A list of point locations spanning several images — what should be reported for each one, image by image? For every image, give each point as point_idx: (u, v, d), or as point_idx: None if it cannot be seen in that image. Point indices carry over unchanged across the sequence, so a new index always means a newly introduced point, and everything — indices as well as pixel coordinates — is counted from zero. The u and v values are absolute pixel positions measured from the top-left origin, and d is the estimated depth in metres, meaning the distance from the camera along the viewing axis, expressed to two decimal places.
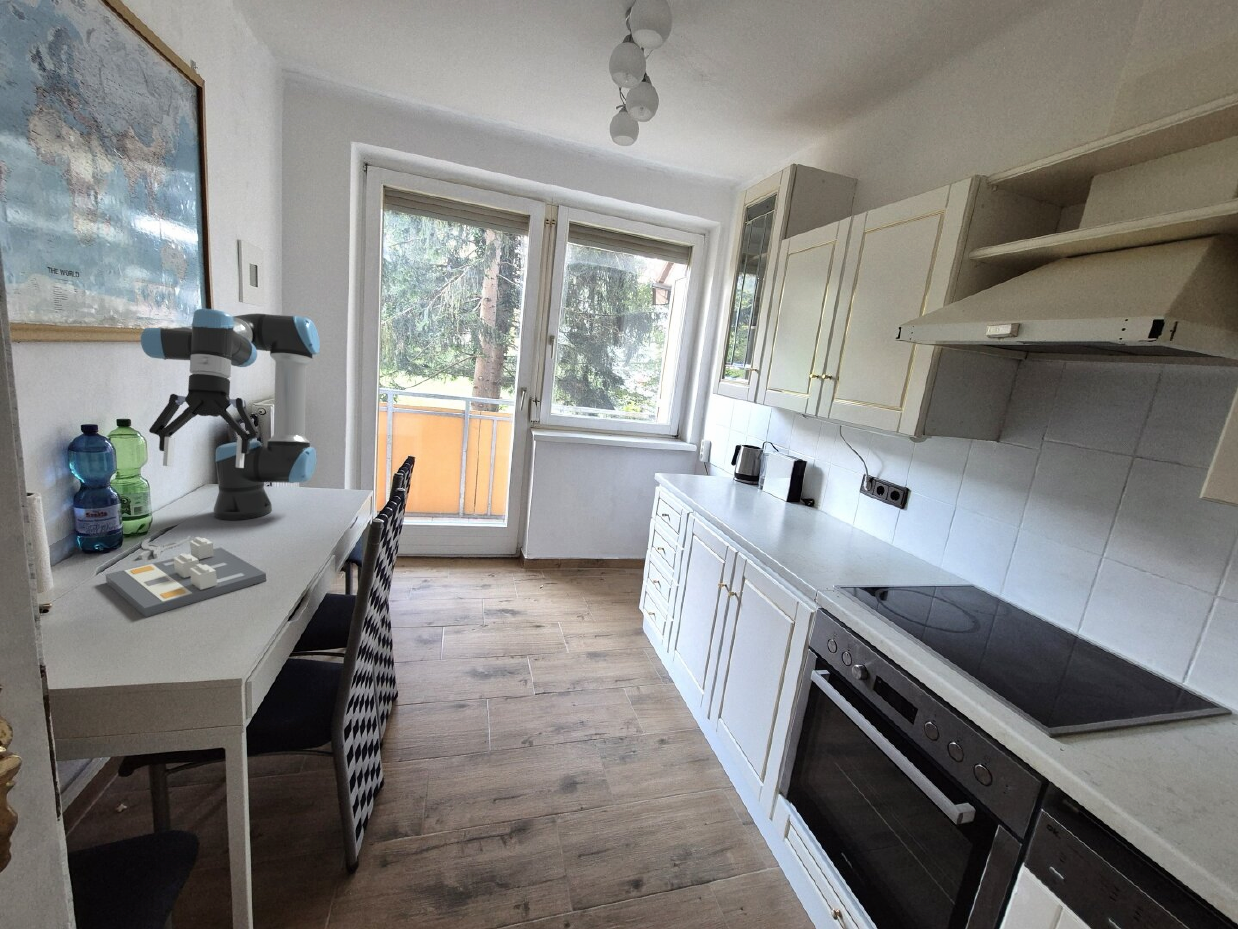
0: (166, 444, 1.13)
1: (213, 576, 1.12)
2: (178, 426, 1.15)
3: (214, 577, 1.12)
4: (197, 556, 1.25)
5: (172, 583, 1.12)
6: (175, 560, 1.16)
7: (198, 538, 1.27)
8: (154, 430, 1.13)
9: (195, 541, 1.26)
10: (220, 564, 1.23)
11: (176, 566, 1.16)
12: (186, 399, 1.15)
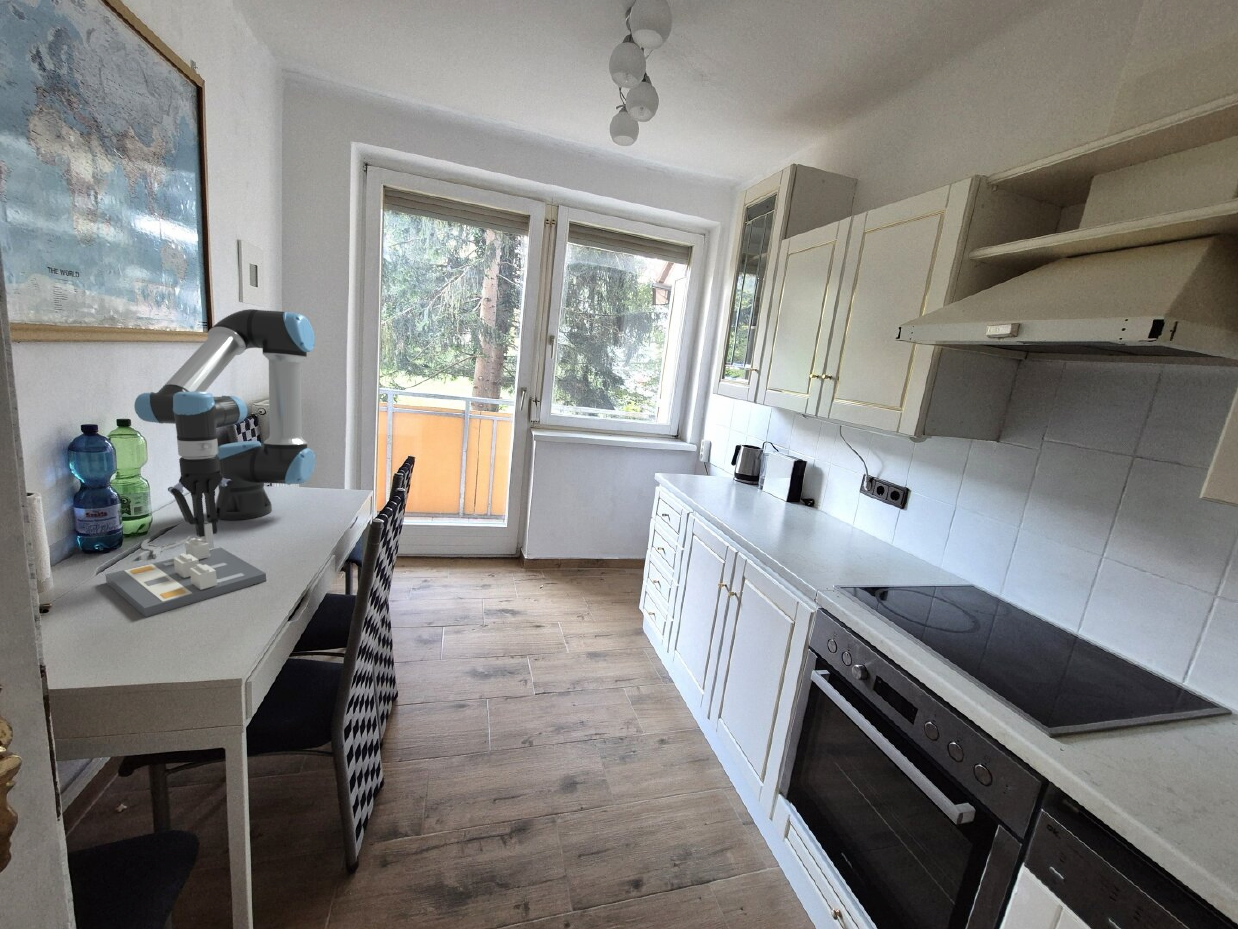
0: (207, 530, 1.26)
1: (213, 576, 1.12)
2: None
3: (214, 577, 1.12)
4: None
5: (172, 583, 1.12)
6: (175, 560, 1.16)
7: (194, 539, 1.26)
8: (193, 520, 1.23)
9: (191, 542, 1.25)
10: (220, 564, 1.23)
11: (176, 566, 1.16)
12: (185, 484, 1.20)
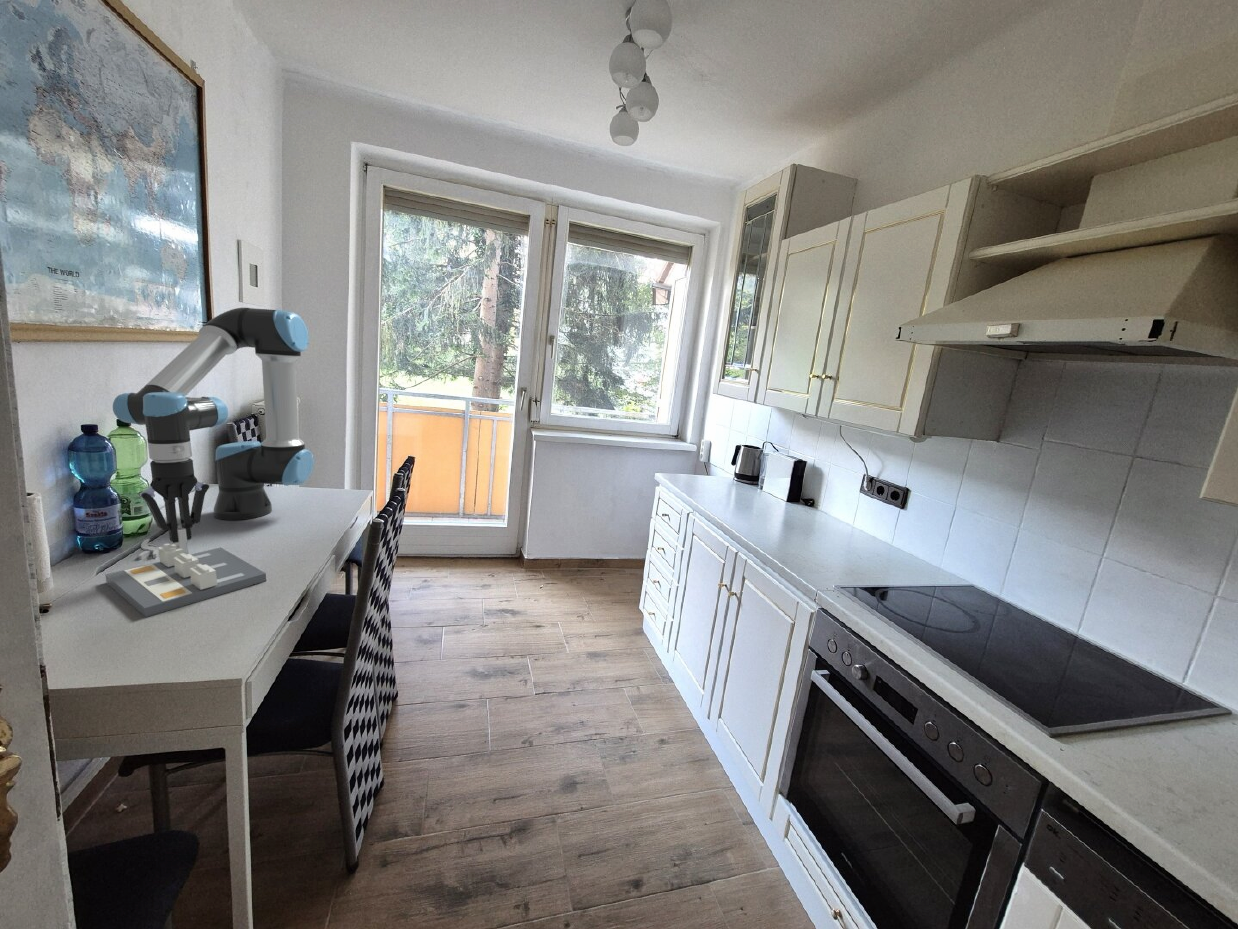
0: (180, 536, 1.21)
1: (213, 576, 1.12)
2: None
3: (214, 577, 1.12)
4: (166, 563, 1.20)
5: (172, 583, 1.12)
6: (175, 560, 1.16)
7: (167, 544, 1.22)
8: (166, 526, 1.19)
9: (164, 548, 1.21)
10: (220, 564, 1.23)
11: (176, 566, 1.16)
12: (157, 489, 1.16)
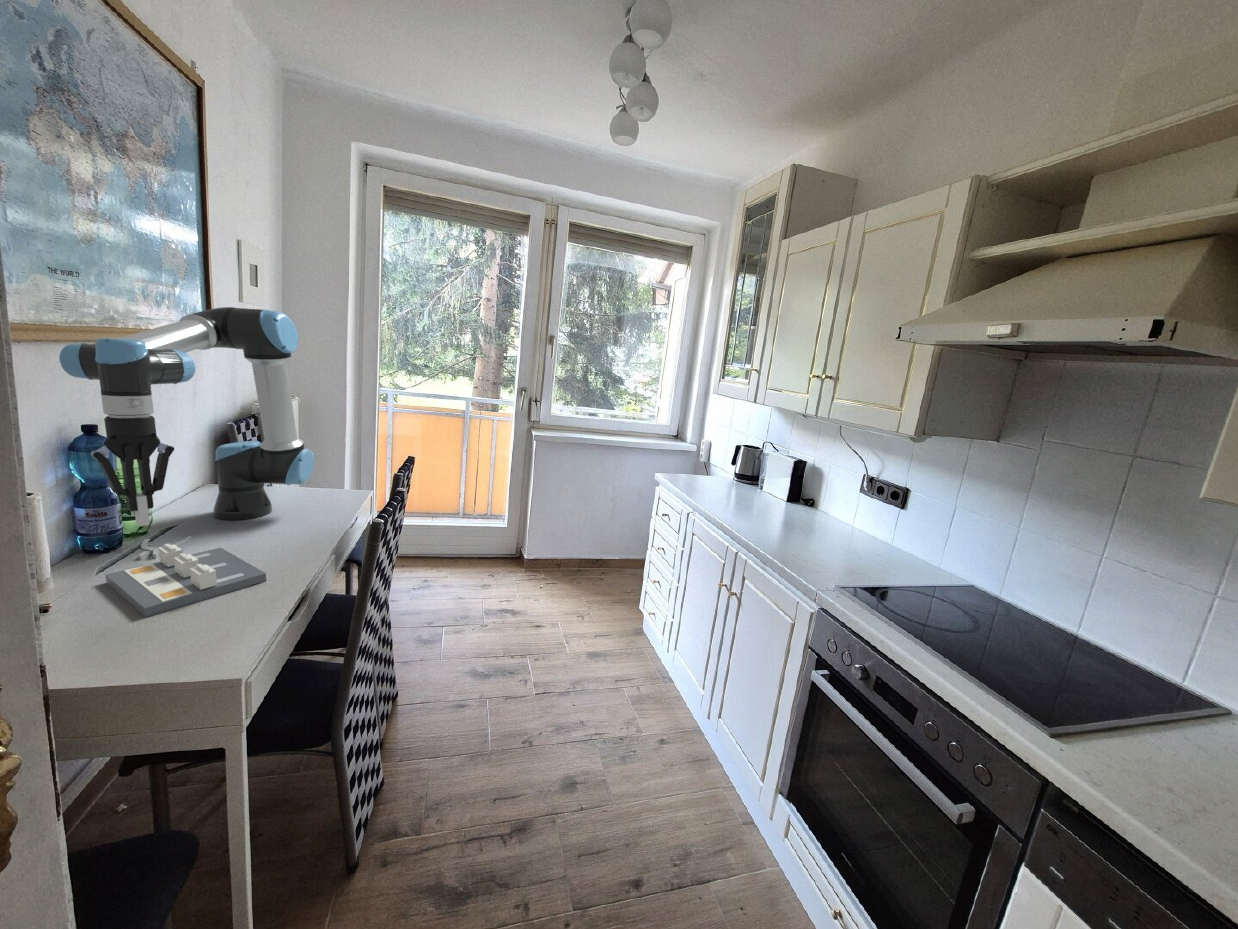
0: (140, 504, 1.07)
1: (213, 576, 1.12)
2: None
3: (214, 577, 1.12)
4: (166, 563, 1.20)
5: (172, 583, 1.12)
6: (175, 560, 1.16)
7: (167, 544, 1.22)
8: (122, 491, 1.04)
9: (164, 548, 1.21)
10: (220, 564, 1.23)
11: (176, 566, 1.16)
12: (111, 448, 1.02)
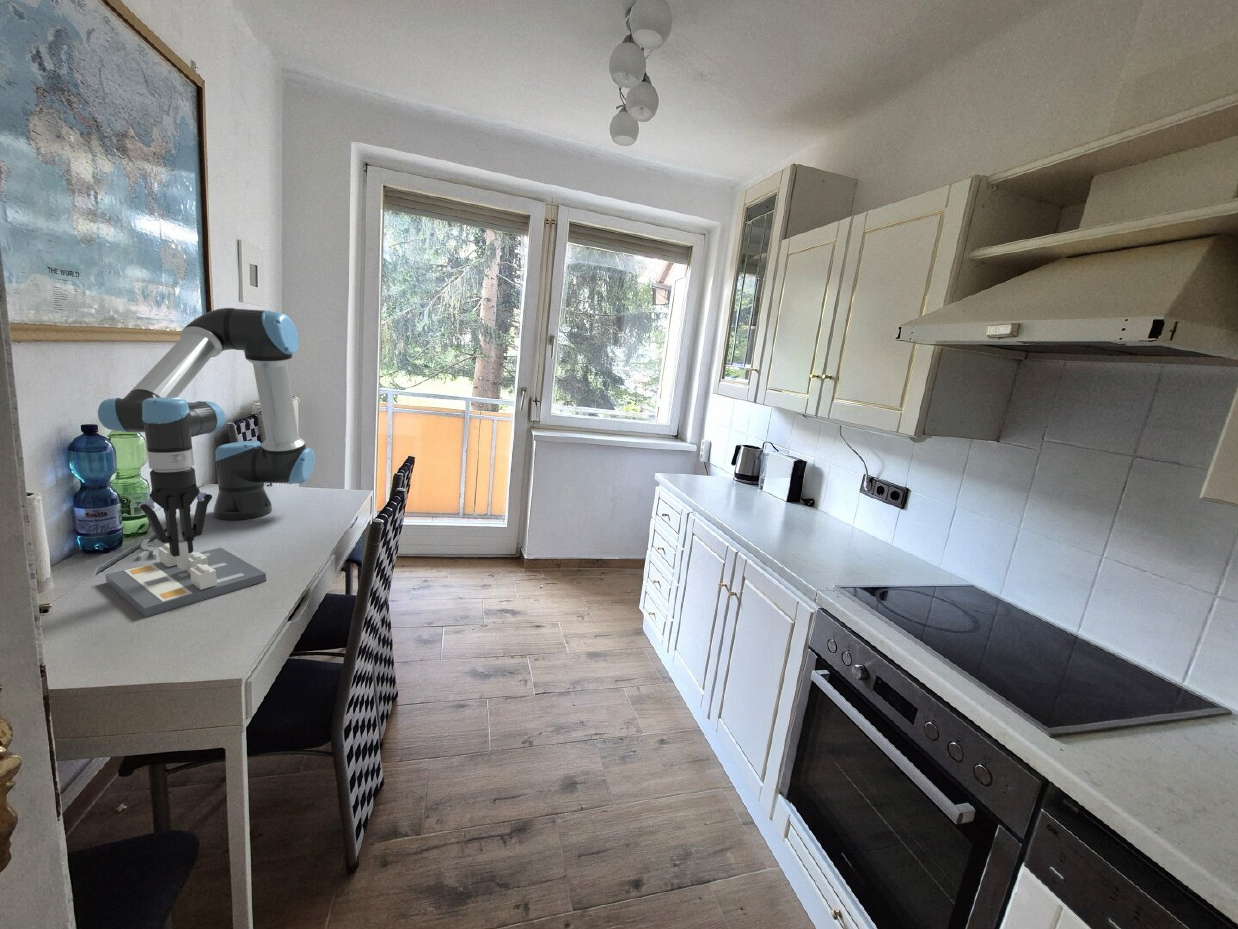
0: (182, 550, 1.15)
1: (213, 576, 1.12)
2: None
3: (214, 577, 1.12)
4: (166, 563, 1.20)
5: (172, 583, 1.12)
6: None
7: (167, 544, 1.22)
8: (166, 539, 1.12)
9: (164, 548, 1.21)
10: (220, 564, 1.23)
11: None
12: (156, 500, 1.09)
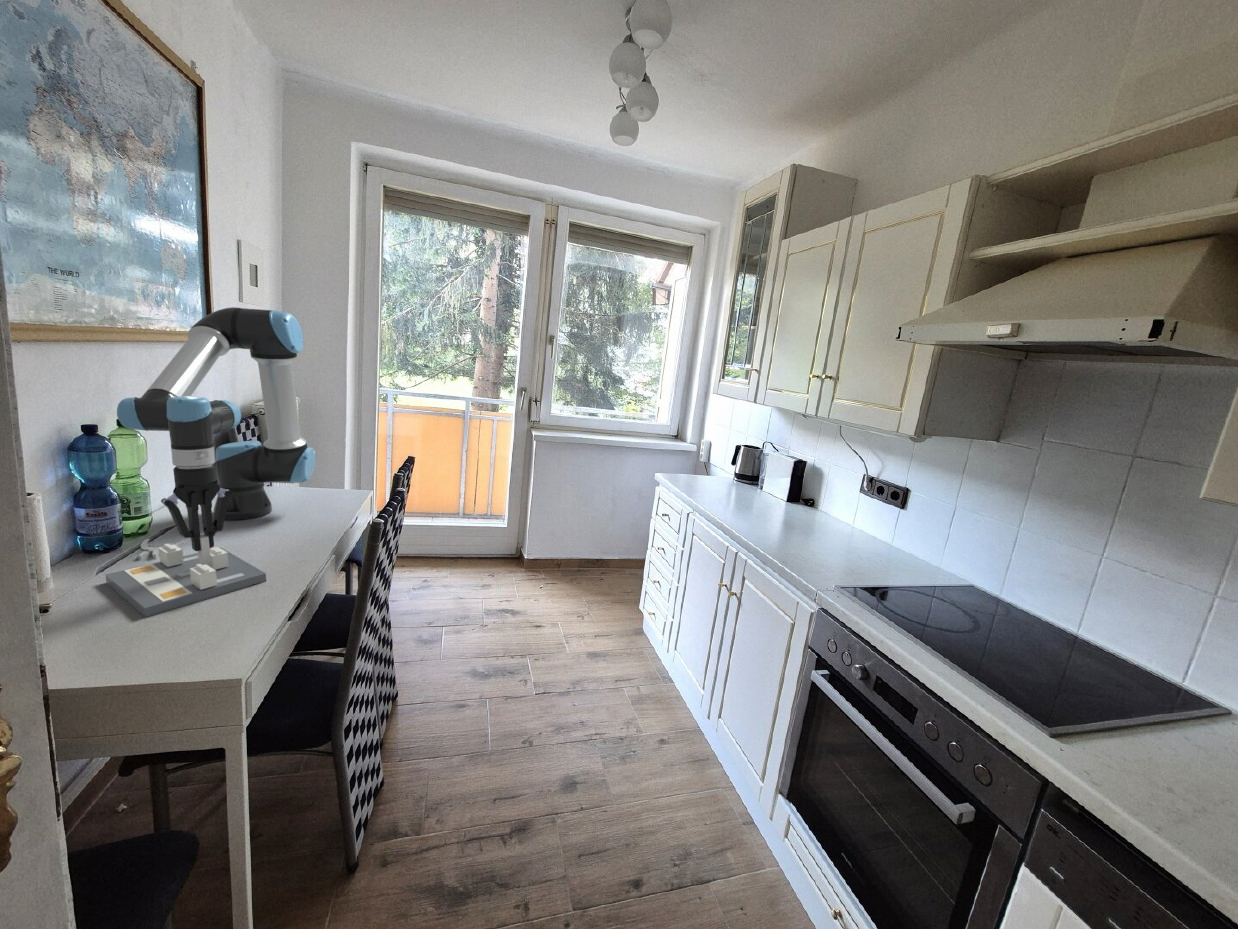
0: (203, 544, 1.18)
1: (213, 576, 1.12)
2: None
3: (214, 577, 1.12)
4: (166, 563, 1.20)
5: (172, 583, 1.12)
6: None
7: (167, 544, 1.22)
8: (188, 534, 1.15)
9: (164, 548, 1.21)
10: None
11: None
12: (180, 496, 1.13)
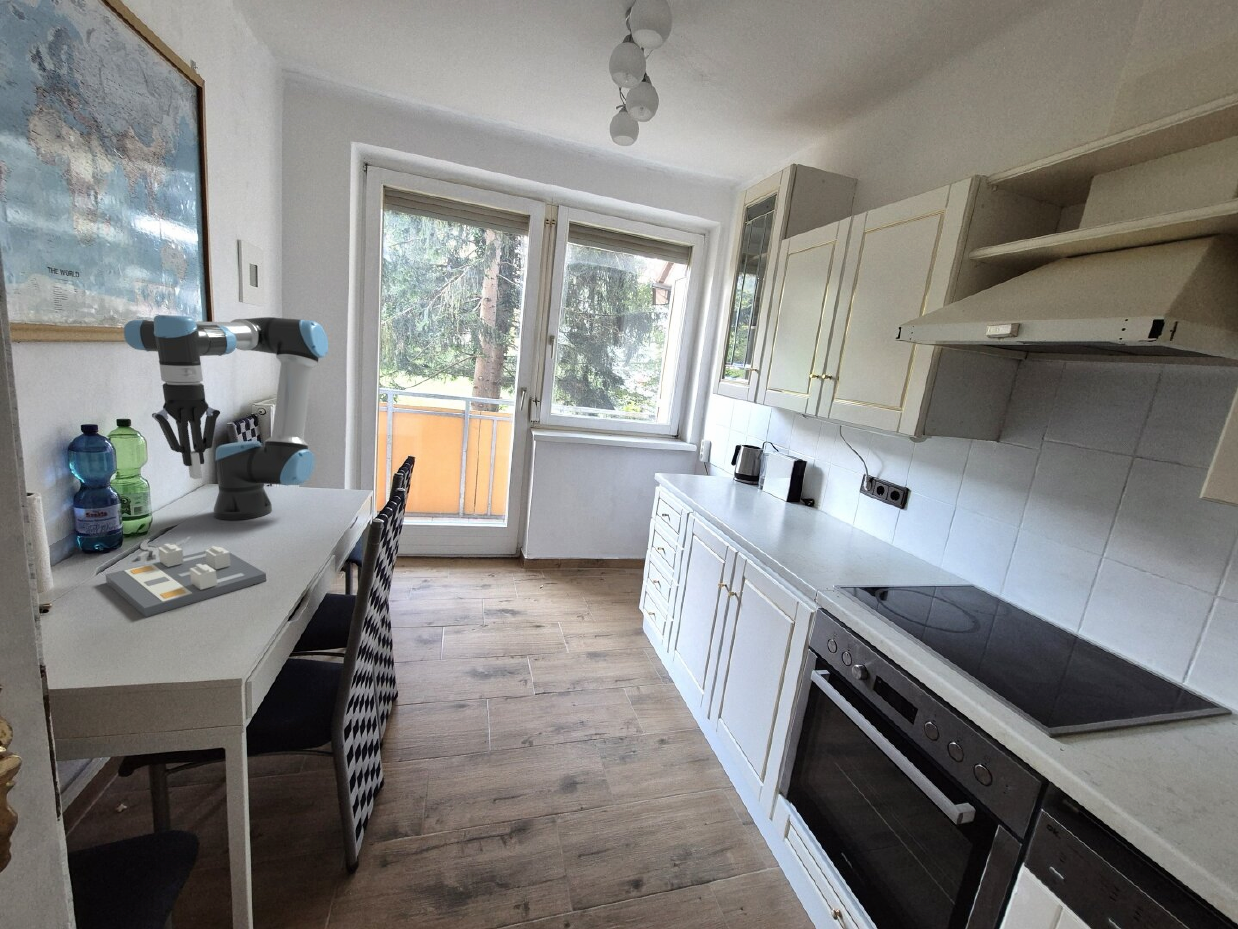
0: (194, 460, 1.24)
1: (213, 576, 1.12)
2: None
3: (214, 577, 1.12)
4: (166, 563, 1.20)
5: (172, 583, 1.12)
6: (207, 552, 1.21)
7: (167, 544, 1.22)
8: (179, 448, 1.21)
9: (164, 548, 1.21)
10: None
11: (208, 558, 1.21)
12: (170, 411, 1.18)
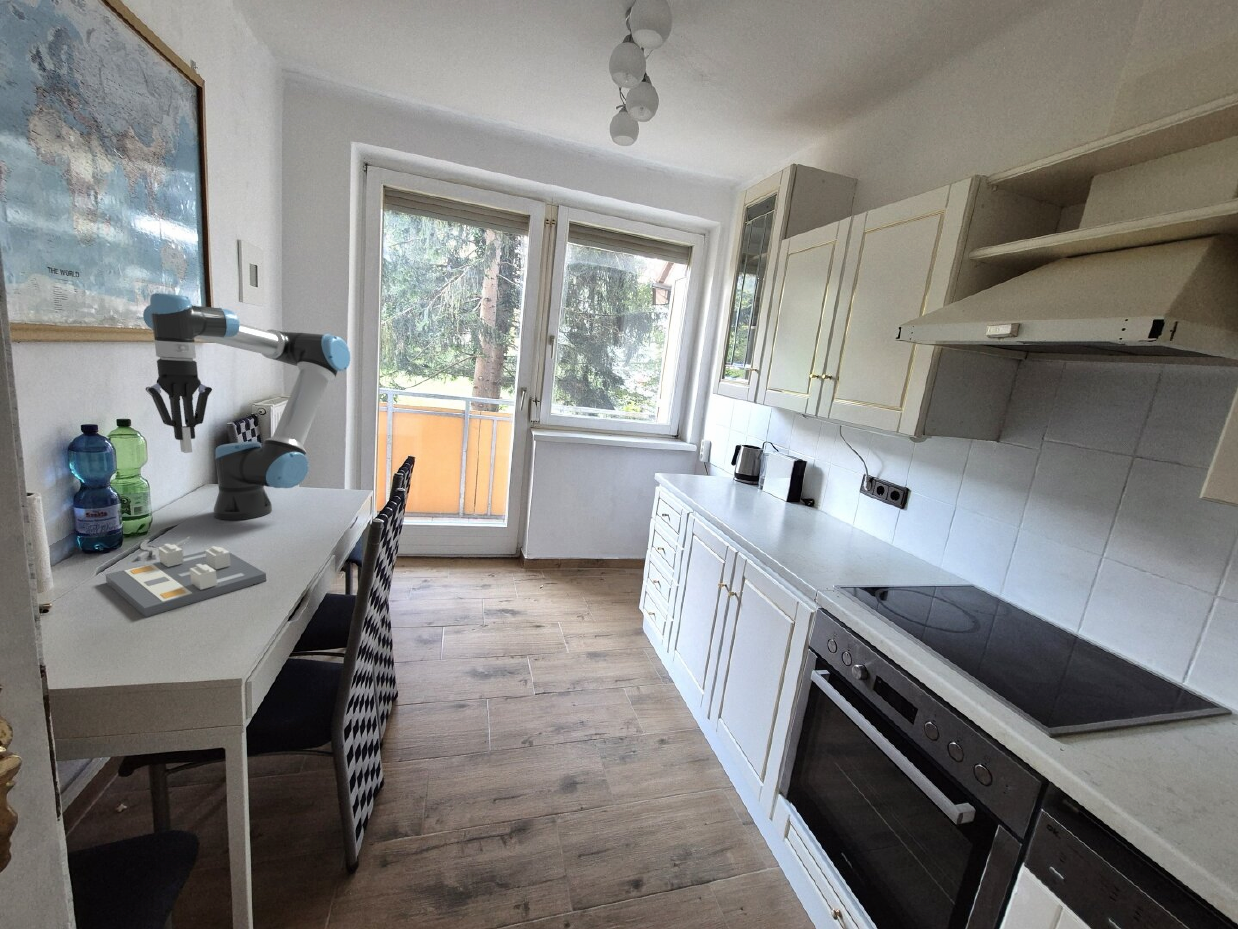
0: (185, 434, 1.29)
1: (213, 576, 1.12)
2: None
3: (214, 577, 1.12)
4: (166, 563, 1.20)
5: (172, 583, 1.12)
6: (207, 552, 1.21)
7: (167, 544, 1.22)
8: (171, 422, 1.26)
9: (164, 548, 1.21)
10: None
11: (208, 558, 1.21)
12: (163, 385, 1.23)
